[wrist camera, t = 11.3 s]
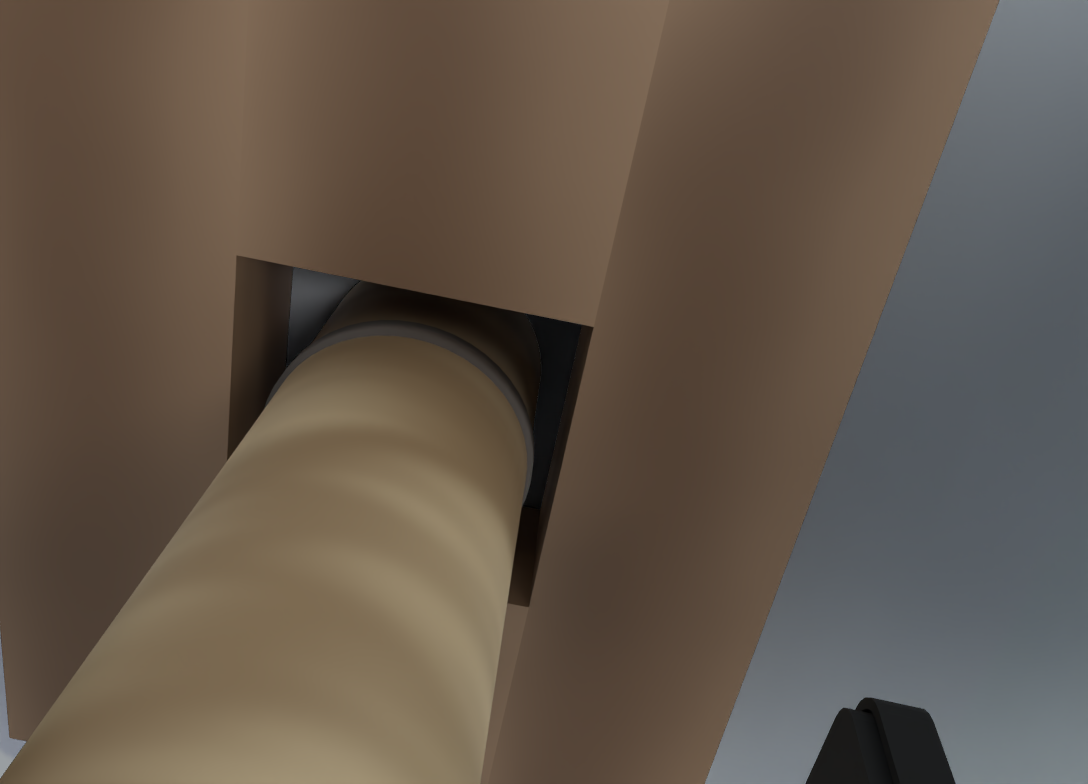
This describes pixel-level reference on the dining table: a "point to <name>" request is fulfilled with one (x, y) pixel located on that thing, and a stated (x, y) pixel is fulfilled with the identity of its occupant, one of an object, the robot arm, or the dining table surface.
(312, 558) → the peg
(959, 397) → the dining table surface
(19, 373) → the board
